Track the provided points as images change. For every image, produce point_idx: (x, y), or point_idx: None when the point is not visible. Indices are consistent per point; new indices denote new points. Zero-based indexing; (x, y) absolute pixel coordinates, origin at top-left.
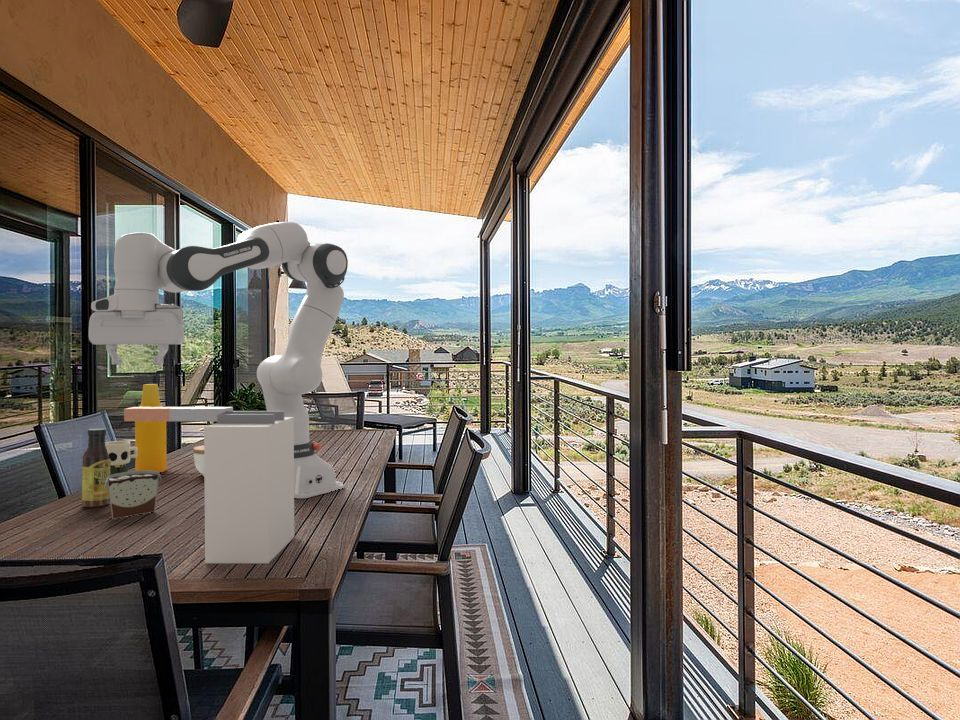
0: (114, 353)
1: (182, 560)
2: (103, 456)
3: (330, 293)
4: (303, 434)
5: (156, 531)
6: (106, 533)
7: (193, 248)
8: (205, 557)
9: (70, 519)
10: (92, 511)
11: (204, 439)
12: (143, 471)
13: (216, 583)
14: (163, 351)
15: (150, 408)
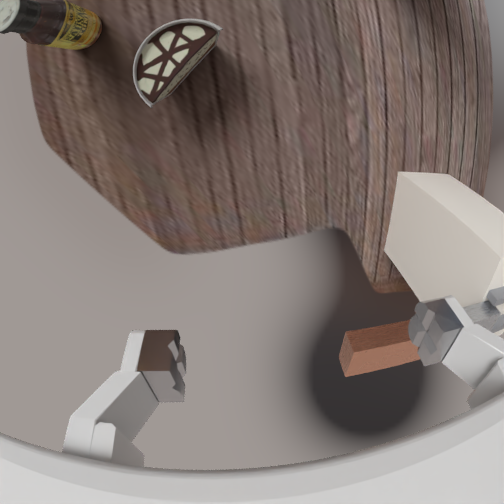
0: (132, 410)
1: (361, 244)
2: (58, 20)
3: None
4: None
5: (283, 146)
6: (214, 160)
7: None
8: (386, 253)
9: (105, 105)
10: (104, 59)
11: None
12: (174, 22)
13: (399, 285)
14: (485, 372)
15: (391, 364)
